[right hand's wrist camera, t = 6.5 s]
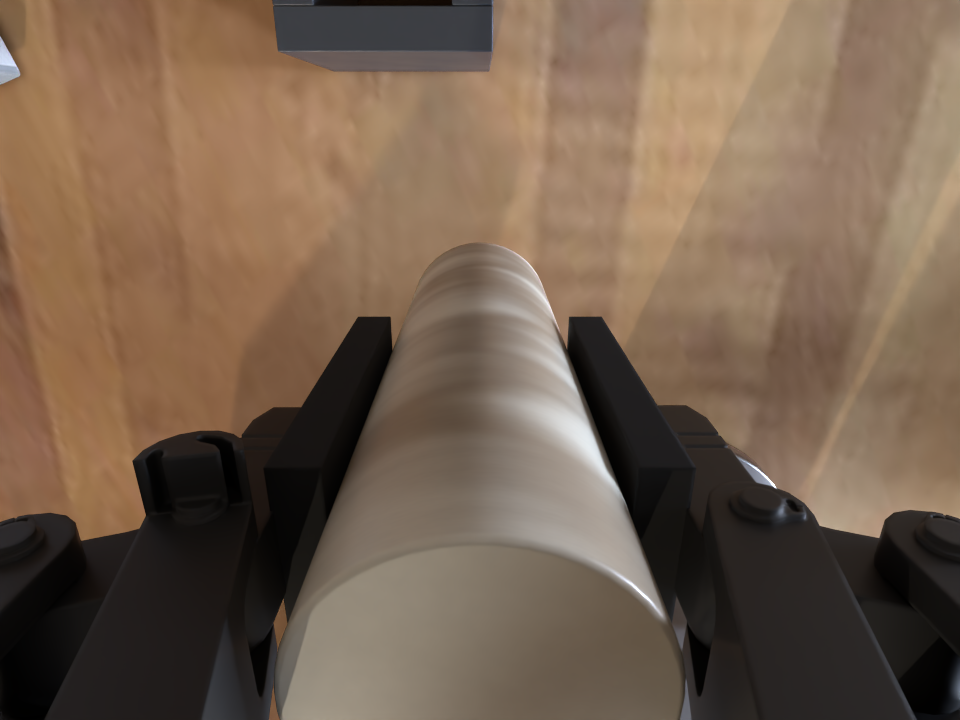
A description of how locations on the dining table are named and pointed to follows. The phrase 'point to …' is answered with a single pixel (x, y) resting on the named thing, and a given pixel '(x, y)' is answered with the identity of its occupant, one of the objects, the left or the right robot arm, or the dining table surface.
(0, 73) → the hard drive box
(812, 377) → the dining table surface
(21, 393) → the dining table surface
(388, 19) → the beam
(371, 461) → the dowel
